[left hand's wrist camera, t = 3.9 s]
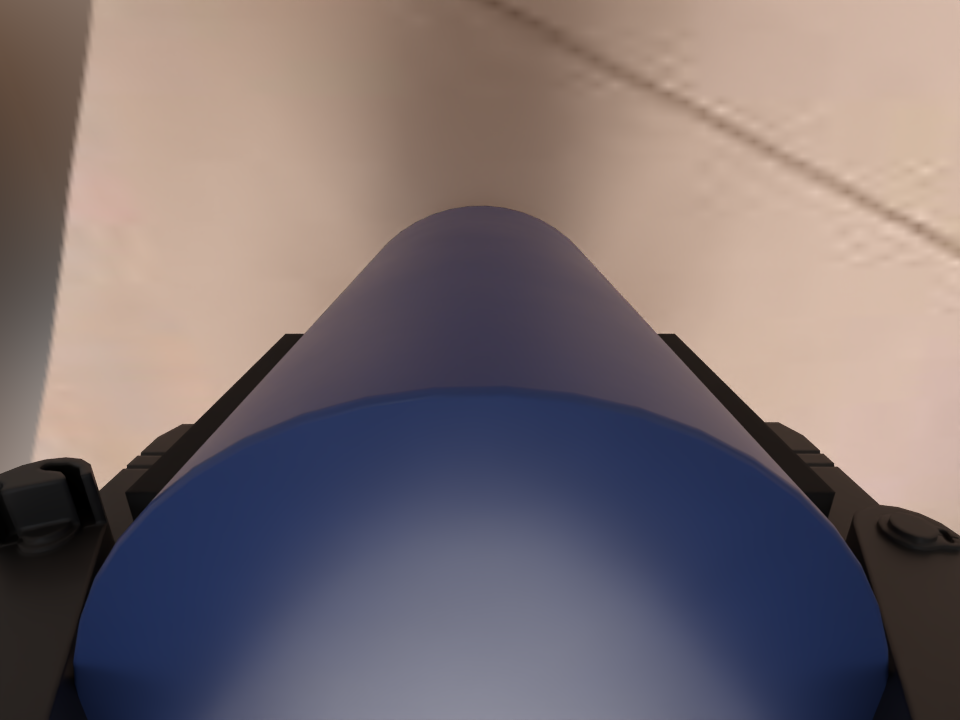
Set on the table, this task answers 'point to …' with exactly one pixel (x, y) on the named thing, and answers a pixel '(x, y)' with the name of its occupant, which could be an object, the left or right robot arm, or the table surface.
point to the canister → (481, 523)
